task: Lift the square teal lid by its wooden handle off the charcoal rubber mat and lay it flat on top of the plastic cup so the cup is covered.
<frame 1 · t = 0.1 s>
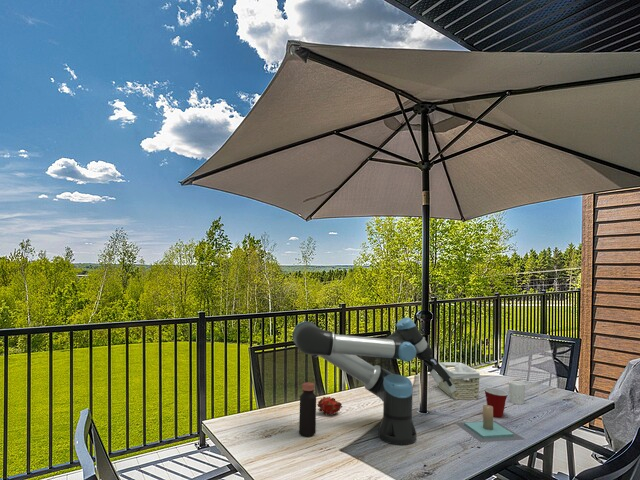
hand: (446, 386, 180), 15 cm above the table, tool tilted 35°, fingers open, 13 cm apart
lid: (488, 430, 168), resting on mat
white cup: (517, 402, 207), on the table
bottle: (307, 434, 161), on the table
plastic cup: (496, 416, 186), on the table
dragon fruit: (329, 414, 184), on the table
mat: (488, 431, 168), on the table
storage basket: (457, 394, 220), on the table
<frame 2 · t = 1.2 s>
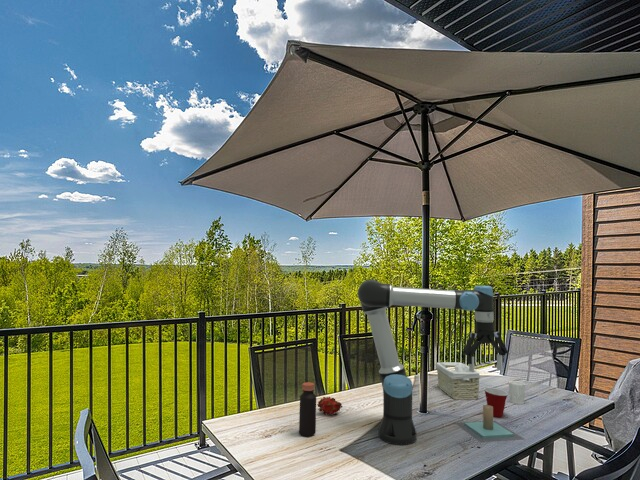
hand: (486, 370, 170), 25 cm above the table, tool pointing down, fingers open, 13 cm apart
nothing on the table moved.
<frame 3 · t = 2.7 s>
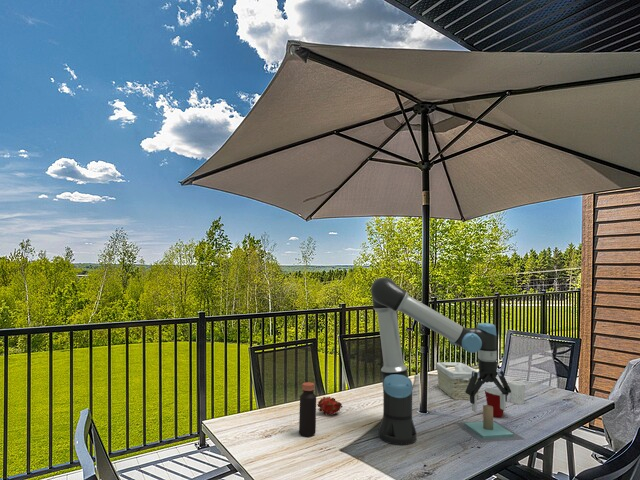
hand: (488, 410, 168), 9 cm above the table, tool pointing down, fingers open, 13 cm apart
nothing on the table moved.
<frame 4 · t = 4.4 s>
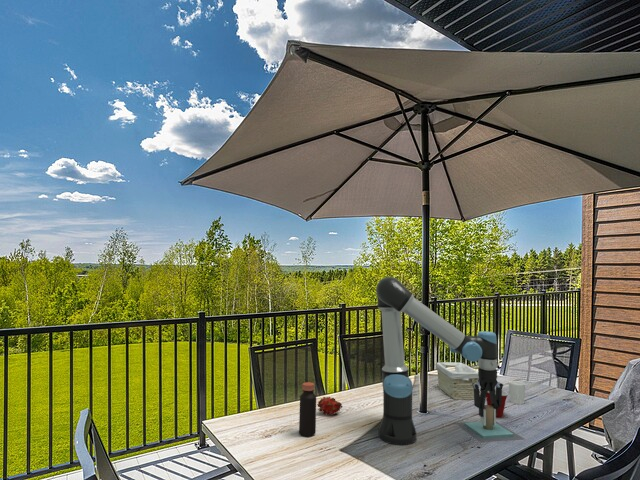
hand: (488, 424, 168), 3 cm above the table, tool pointing down, fingers closed on lid, 4 cm apart
lid: (488, 430, 168), resting on mat, touching gripper
everything else where it was.
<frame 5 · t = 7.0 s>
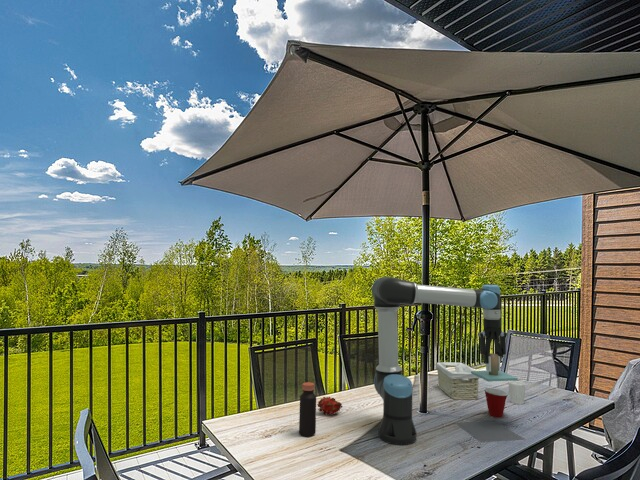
hand: (493, 370, 179), 23 cm above the table, tool pointing down, fingers closed on lid, 4 cm apart
lid: (493, 376, 178), point 21 cm above the table, touching gripper
everything else where it was.
when the fingers open (16 cm above the table, at t = 9.5 s): lid drops 1 cm, resting on plastic cup.
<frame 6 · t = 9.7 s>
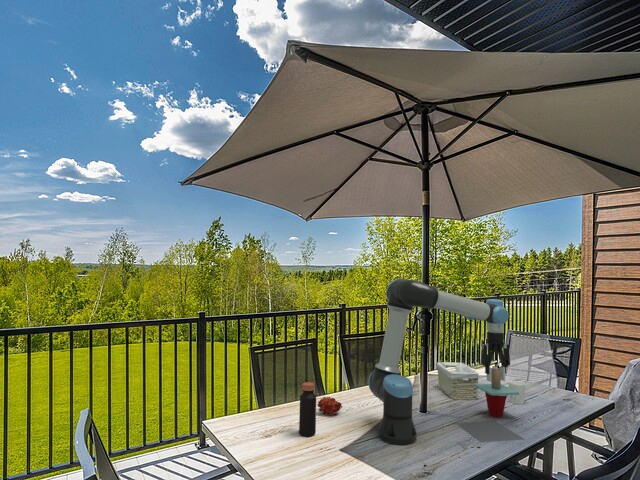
hand: (495, 380, 187), 16 cm above the table, tool pointing down, fingers open, 7 cm apart
lid: (496, 390, 187), point 12 cm above the table, touching plastic cup
plastic cup: (496, 416, 186), on the table, touching lid
everything else where it was.
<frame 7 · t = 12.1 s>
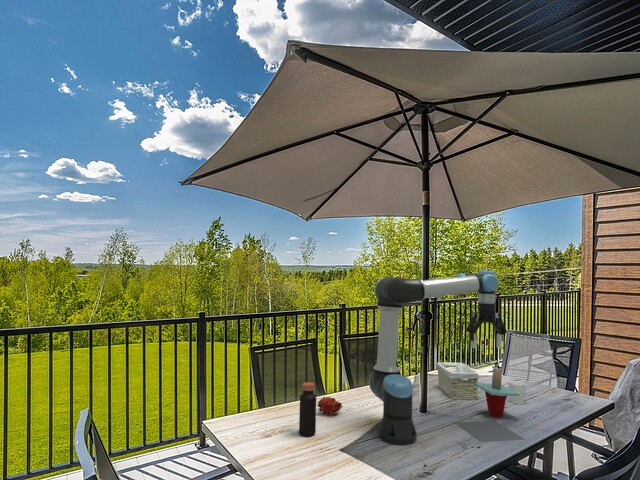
hand: (486, 348, 186), 32 cm above the table, tool pointing down, fingers open, 13 cm apart
nothing on the table moved.
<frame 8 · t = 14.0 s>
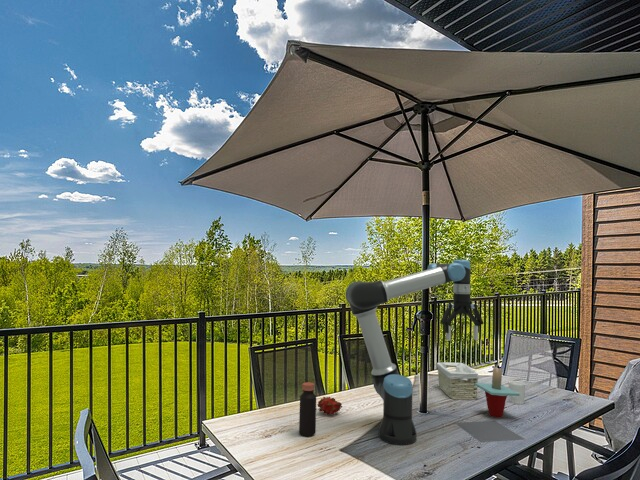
hand: (462, 340, 179), 37 cm above the table, tool pointing down, fingers open, 13 cm apart
nothing on the table moved.
at the end: lid 0.1 cm from the plastic cup (horizontally); lid point 12.0 cm above the table; lid tilted 4° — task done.
